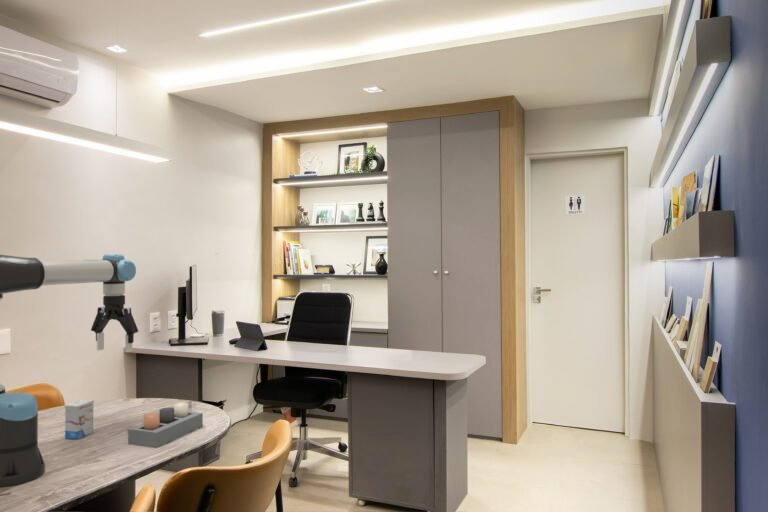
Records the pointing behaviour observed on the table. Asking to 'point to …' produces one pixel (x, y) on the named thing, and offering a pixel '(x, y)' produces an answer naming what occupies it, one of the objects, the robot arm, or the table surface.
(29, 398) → the robot arm
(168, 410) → the button black
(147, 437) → the panel
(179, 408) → the button ivory
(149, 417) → the button terracotta
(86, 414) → the ink box
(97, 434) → the table surface
